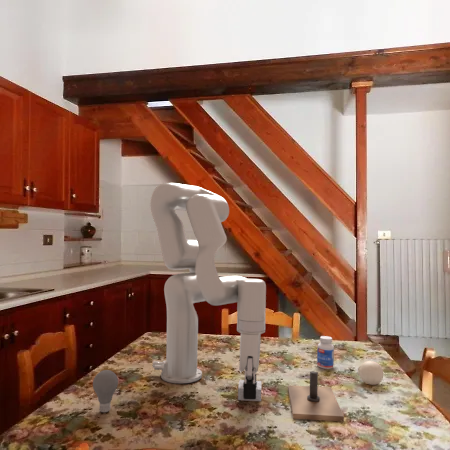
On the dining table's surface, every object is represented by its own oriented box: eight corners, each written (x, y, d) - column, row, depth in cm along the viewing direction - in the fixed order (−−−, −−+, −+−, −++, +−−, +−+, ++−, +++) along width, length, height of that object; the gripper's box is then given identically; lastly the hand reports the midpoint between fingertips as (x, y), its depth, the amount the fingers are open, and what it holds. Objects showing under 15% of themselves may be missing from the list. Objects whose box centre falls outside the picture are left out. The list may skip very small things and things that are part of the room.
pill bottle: (315, 367, 134) (316, 338, 135) (318, 363, 139) (318, 334, 140) (332, 370, 132) (333, 340, 133) (334, 365, 137) (335, 336, 138)
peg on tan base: (293, 418, 97) (293, 384, 97) (287, 389, 115) (288, 360, 115) (343, 421, 96) (344, 386, 96) (330, 391, 114) (331, 362, 114)
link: (237, 399, 104) (238, 388, 105) (239, 390, 110) (239, 379, 111) (261, 401, 104) (261, 389, 104) (261, 392, 110) (261, 380, 110)
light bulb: (103, 419, 95) (104, 376, 95) (86, 412, 98) (87, 371, 98) (122, 410, 100) (123, 369, 100) (105, 404, 103) (106, 365, 104)
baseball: (361, 377, 126) (361, 356, 126) (385, 383, 122) (386, 360, 122) (354, 384, 120) (354, 361, 120) (379, 390, 116) (380, 366, 116)
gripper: (238, 318, 116) (237, 380, 116) (235, 333, 99) (233, 406, 99) (264, 319, 116) (263, 382, 115) (265, 334, 99) (264, 408, 98)
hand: (249, 392), depth 107 cm, fingers closed on link, 6 cm apart
